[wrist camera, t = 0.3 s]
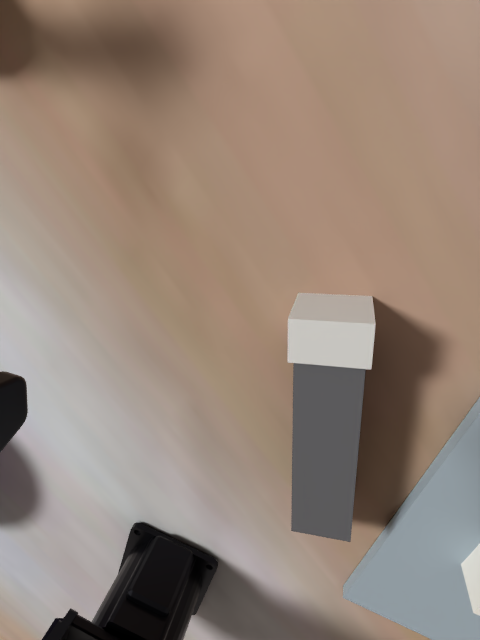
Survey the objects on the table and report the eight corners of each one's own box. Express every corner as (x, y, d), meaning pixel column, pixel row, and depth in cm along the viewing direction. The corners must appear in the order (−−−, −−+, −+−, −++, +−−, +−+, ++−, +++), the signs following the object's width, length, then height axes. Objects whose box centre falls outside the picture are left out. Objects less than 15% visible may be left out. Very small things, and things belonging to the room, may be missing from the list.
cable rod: (354, 497, 23) (354, 549, 20) (295, 488, 24) (286, 536, 21) (372, 295, 19) (375, 324, 16) (298, 292, 20) (287, 318, 17)
